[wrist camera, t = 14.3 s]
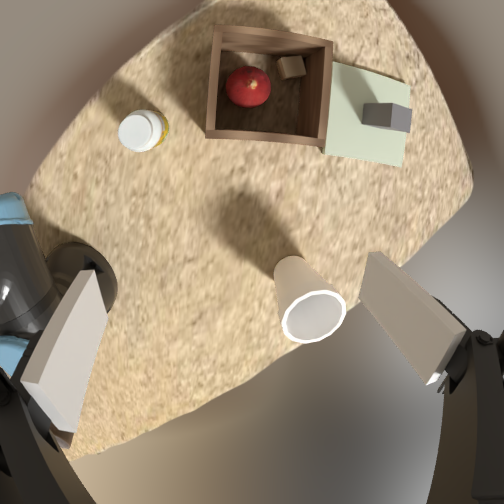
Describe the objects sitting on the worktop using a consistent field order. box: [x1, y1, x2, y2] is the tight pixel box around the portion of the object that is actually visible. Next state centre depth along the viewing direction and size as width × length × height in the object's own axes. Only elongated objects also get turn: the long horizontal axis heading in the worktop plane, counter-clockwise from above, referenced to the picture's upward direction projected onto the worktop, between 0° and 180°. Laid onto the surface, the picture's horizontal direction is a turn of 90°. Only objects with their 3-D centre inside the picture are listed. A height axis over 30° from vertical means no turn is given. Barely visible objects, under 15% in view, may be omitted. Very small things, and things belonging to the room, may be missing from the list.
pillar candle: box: [49, 421, 74, 449], centre depth 53 cm, size 10×10×15 cm
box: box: [205, 25, 333, 147], centre depth 31 cm, size 14×14×9 cm
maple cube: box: [276, 55, 306, 80], centre depth 33 cm, size 3×3×3 cm
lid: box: [322, 61, 412, 167], centre depth 35 cm, size 15×15×10 cm
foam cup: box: [273, 256, 346, 343], centre depth 43 cm, size 10×9×13 cm
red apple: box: [226, 66, 271, 108], centre depth 32 cm, size 6×6×8 cm
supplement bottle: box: [118, 110, 169, 152], centre depth 31 cm, size 5×5×10 cm
